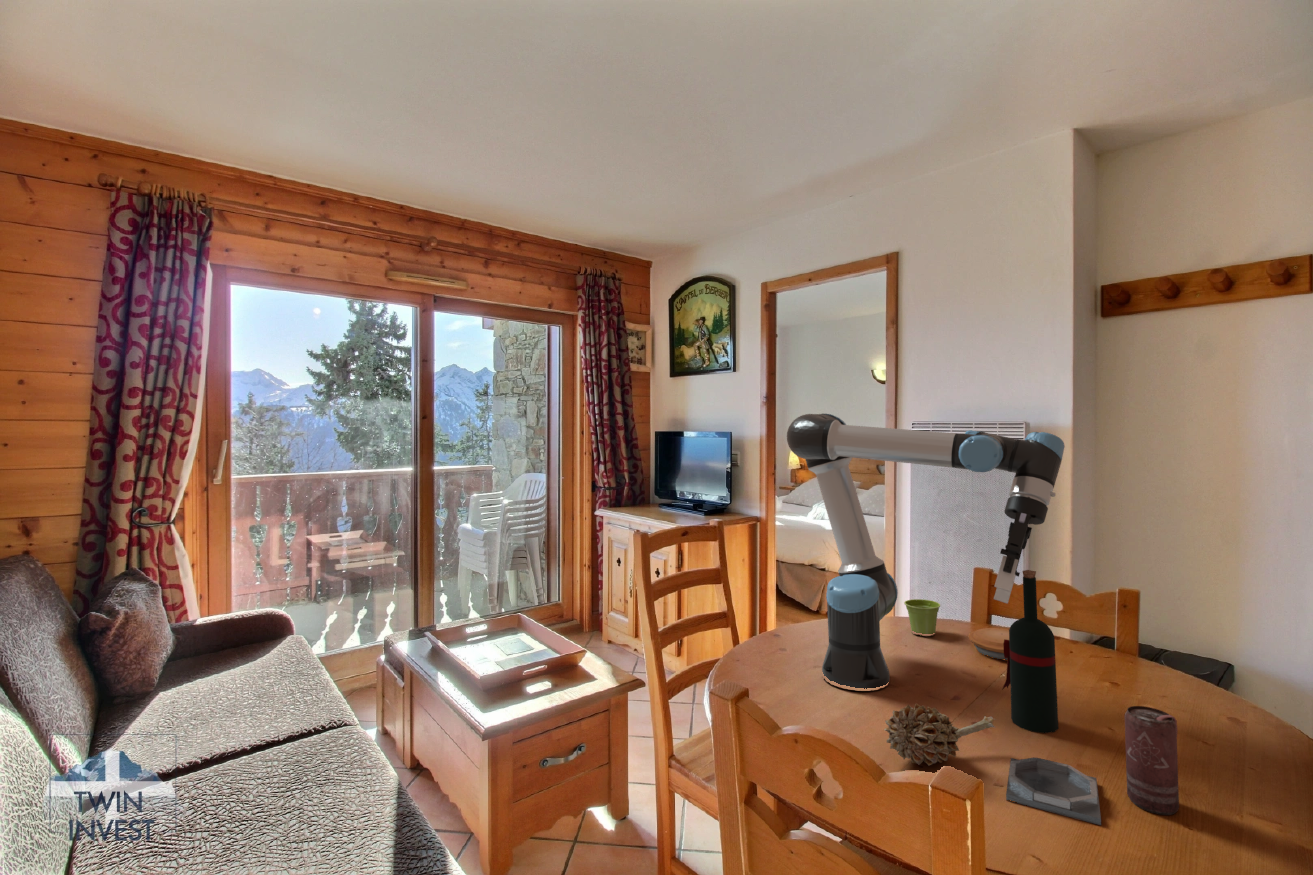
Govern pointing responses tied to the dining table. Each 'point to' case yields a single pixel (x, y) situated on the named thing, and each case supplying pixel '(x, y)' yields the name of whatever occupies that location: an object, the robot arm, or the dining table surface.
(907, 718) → the pine cone
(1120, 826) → the dining table surface
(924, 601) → the plant pot
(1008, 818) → the dining table surface
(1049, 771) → the cup holder
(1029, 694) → the wine bottle
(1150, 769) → the can
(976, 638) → the pie
